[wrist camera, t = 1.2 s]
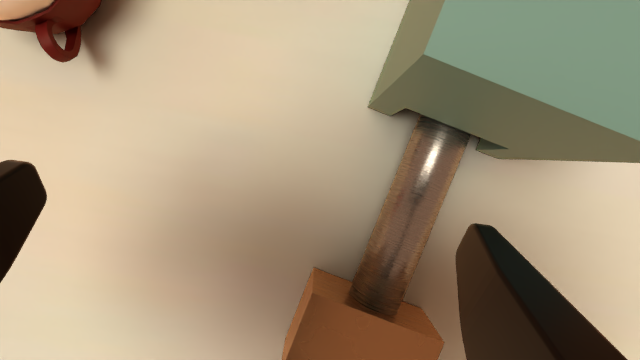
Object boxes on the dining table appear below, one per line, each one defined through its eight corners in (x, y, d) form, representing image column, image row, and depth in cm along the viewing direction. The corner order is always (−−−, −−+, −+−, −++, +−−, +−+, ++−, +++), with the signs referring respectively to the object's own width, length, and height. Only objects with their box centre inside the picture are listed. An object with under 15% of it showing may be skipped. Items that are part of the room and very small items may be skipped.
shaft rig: (392, 378, 20) (408, 426, 17) (285, 337, 20) (278, 378, 16) (660, -264, 18) (744, -366, 15) (543, -314, 18) (599, -431, 14)
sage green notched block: (498, 158, 19) (698, 164, 9) (367, 107, 19) (423, 53, 9) (562, 4, 19) (851, -172, 9) (429, -50, 19) (563, -296, 8)
